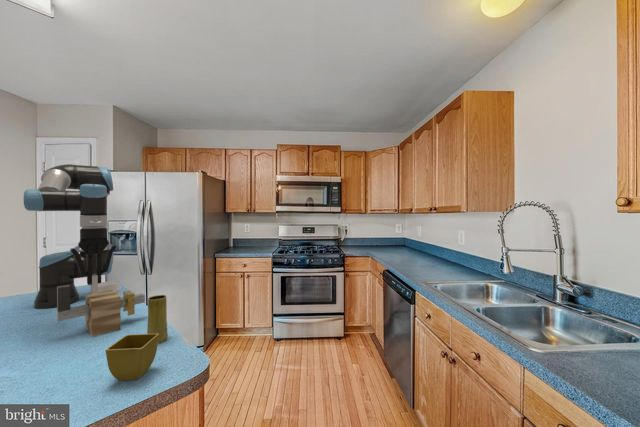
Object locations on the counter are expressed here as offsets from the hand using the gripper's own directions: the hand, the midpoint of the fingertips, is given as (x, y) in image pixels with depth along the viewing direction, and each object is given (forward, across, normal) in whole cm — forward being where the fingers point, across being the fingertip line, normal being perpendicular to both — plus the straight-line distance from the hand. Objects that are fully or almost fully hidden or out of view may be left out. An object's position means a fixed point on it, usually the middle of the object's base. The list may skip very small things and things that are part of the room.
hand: (94, 293), depth 98 cm
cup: (+14, +7, +19) cm, 25 cm away
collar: (+10, +10, 0) cm, 14 cm away
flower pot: (+14, +1, -42) cm, 44 cm away
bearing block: (+13, +2, 0) cm, 14 cm away
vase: (+14, +12, -25) cm, 31 cm away
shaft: (+7, +3, 0) cm, 7 cm away
